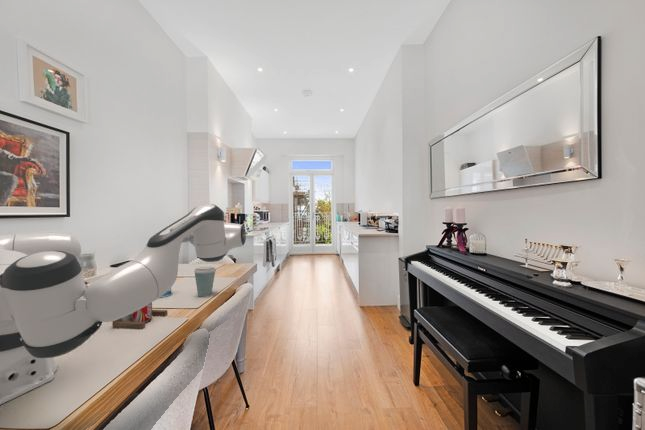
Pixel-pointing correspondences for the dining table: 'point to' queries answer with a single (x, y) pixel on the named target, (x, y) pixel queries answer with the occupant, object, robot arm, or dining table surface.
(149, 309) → the soda can
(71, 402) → the dining table surface
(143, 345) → the dining table surface
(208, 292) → the disposable coffee cup
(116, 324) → the dock
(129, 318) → the plate
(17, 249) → the robot arm
